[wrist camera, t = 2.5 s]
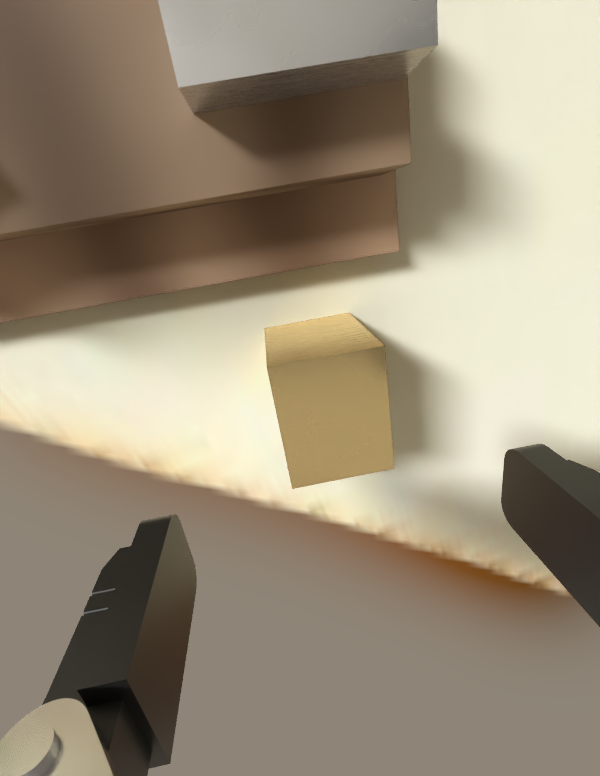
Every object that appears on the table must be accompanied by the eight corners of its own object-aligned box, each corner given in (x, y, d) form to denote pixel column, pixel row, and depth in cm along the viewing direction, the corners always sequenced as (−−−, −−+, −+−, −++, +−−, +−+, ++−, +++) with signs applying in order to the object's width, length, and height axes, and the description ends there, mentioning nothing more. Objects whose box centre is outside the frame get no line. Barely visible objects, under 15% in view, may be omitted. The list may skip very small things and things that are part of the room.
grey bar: (399, -26, 10) (435, -89, 8) (407, 159, 12) (438, 145, 10) (-359, 95, 9) (-526, 59, 7) (-237, 270, 11) (-347, 280, 9)
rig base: (361, -149, 12) (414, -341, 8) (387, 248, 17) (429, 255, 13) (-288, -52, 12) (-590, -206, 7) (-73, 331, 16) (-184, 367, 12)
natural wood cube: (264, 328, 18) (267, 367, 13) (348, 312, 18) (384, 345, 13) (283, 422, 20) (292, 488, 15) (359, 407, 20) (394, 468, 15)
